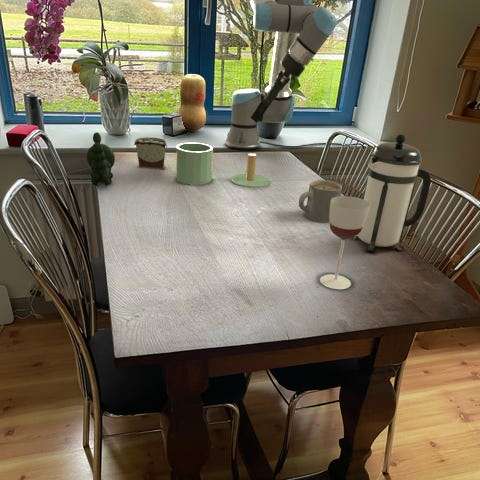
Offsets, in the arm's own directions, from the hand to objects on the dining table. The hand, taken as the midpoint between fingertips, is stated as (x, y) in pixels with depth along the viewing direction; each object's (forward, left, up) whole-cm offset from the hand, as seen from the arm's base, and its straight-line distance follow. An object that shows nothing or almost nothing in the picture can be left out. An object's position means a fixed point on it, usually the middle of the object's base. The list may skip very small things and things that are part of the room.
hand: (256, 115), depth 168 cm
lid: (0, -1, -23) cm, 23 cm away
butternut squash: (-20, -78, -24) cm, 83 cm away
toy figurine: (+47, -24, -24) cm, 58 cm away
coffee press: (-3, +59, -24) cm, 64 cm away
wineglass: (+25, +70, -24) cm, 78 cm away
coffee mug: (0, +35, -24) cm, 43 cm away
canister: (+17, -12, -23) cm, 31 cm away
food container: (+23, -33, -24) cm, 46 cm away
